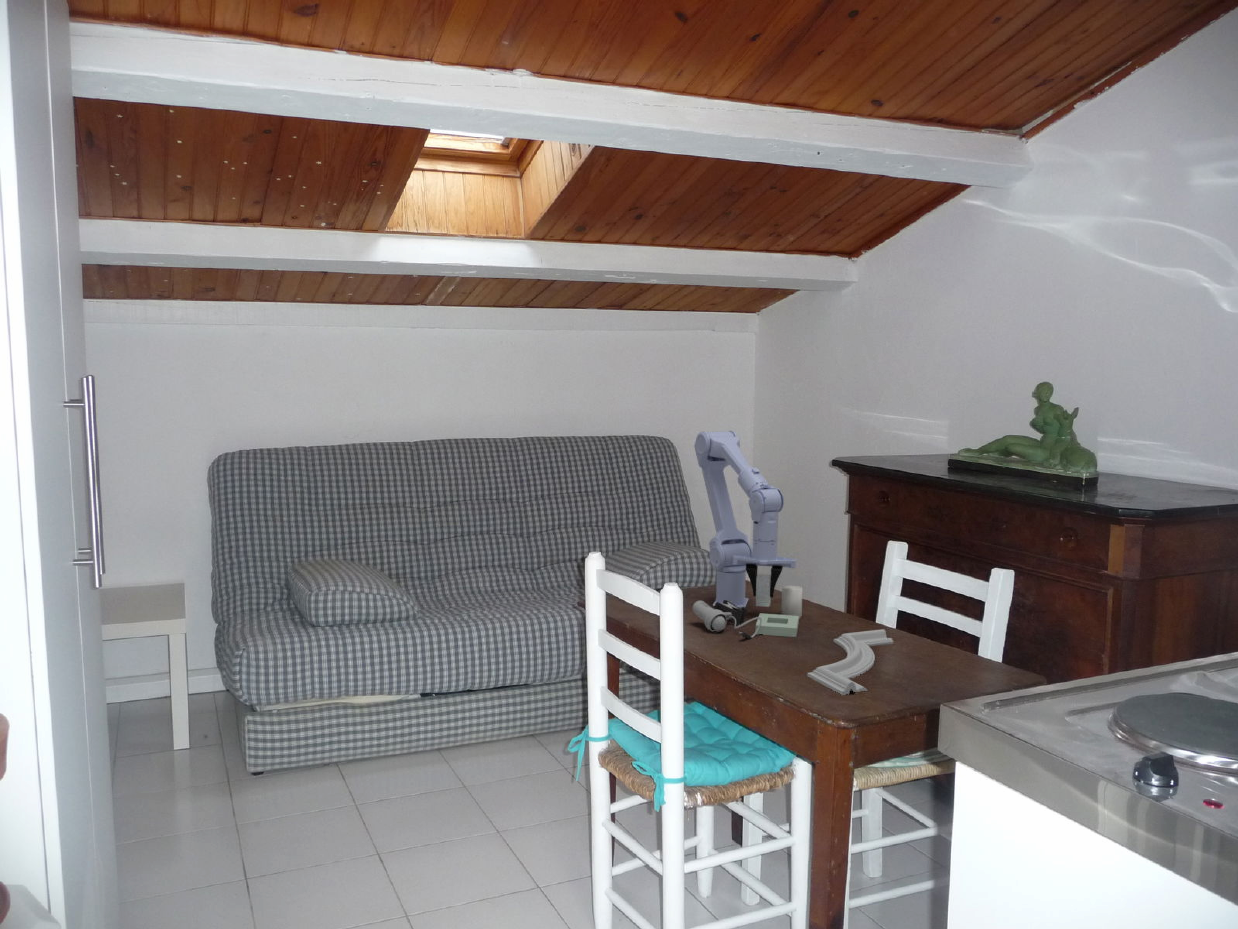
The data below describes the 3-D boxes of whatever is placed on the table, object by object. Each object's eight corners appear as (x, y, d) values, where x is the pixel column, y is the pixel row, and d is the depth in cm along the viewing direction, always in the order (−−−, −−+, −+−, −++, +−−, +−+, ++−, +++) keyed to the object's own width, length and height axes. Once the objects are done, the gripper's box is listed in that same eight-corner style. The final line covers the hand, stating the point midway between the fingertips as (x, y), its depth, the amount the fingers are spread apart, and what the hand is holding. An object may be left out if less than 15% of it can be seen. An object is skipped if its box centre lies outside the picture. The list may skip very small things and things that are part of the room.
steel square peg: (756, 602, 236) (757, 573, 235) (770, 603, 235) (771, 574, 234) (755, 605, 233) (756, 576, 232) (769, 606, 232) (770, 577, 231)
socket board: (759, 621, 231) (759, 613, 231) (798, 624, 229) (798, 615, 229) (755, 634, 220) (755, 625, 220) (796, 637, 218) (796, 628, 218)
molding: (863, 702, 179) (864, 686, 179) (797, 692, 184) (798, 676, 184) (895, 642, 218) (896, 629, 217) (840, 634, 223) (841, 622, 222)
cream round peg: (782, 613, 239) (783, 584, 238) (802, 614, 238) (803, 586, 237) (780, 618, 234) (781, 589, 234) (800, 619, 233) (801, 590, 233)
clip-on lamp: (770, 649, 220) (725, 613, 234) (777, 623, 218) (731, 589, 233) (727, 651, 214) (684, 615, 228) (734, 625, 212) (690, 590, 227)
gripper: (732, 540, 230) (730, 597, 231) (795, 544, 227) (793, 602, 228) (735, 535, 237) (734, 591, 238) (796, 539, 233) (795, 595, 235)
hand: (763, 596), depth 234 cm, fingers closed on steel square peg, 3 cm apart
